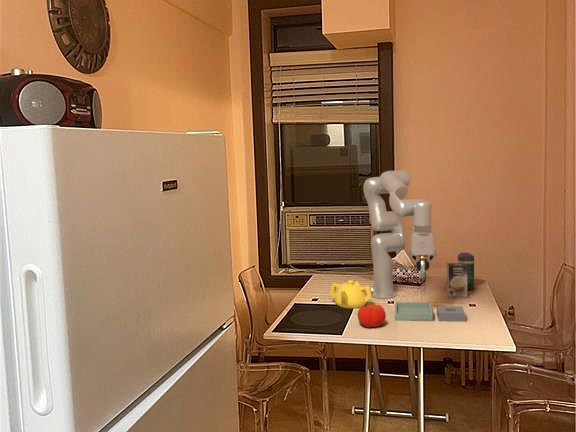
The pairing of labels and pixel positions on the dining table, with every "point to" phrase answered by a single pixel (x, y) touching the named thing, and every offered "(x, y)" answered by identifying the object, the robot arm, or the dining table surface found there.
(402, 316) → the tray
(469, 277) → the coffee jar
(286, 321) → the dining table surface
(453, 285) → the coffee box
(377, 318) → the tomato
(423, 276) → the orange knob peg
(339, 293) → the teapot
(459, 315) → the grey square hole block
